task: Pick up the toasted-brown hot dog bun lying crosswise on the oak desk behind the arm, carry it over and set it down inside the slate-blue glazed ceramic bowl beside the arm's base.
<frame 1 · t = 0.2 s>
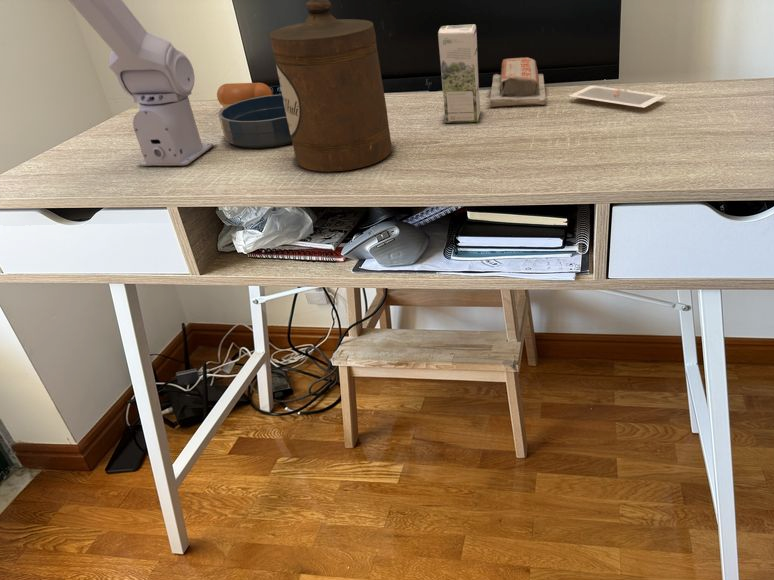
syrup box: (463, 119, 117), on the table
bowl: (273, 134, 116), on the table
bun: (247, 108, 131), on the table
touchpad: (616, 103, 119), on the table
packaged product: (518, 94, 127), on the table
wooden container: (344, 156, 105), on the table
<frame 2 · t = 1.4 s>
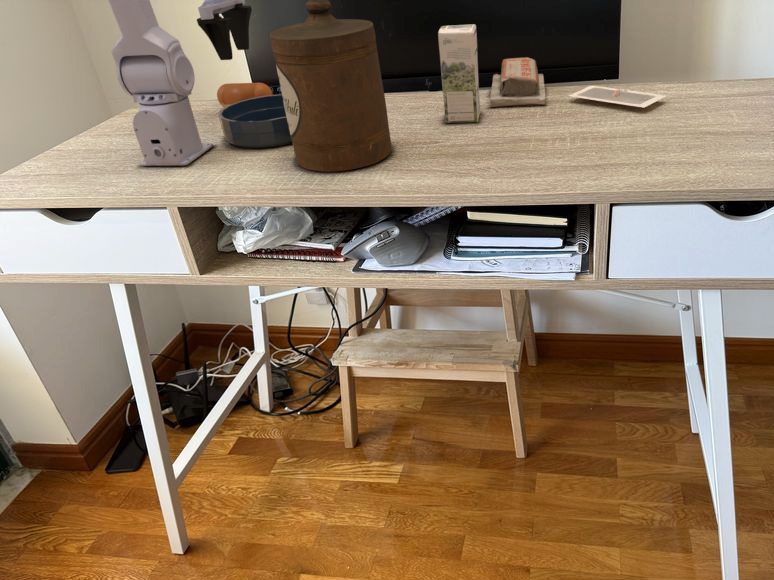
hand: (235, 54, 125), 10 cm above the table, tool pointing down, fingers open, 7 cm apart
nothing on the table moved.
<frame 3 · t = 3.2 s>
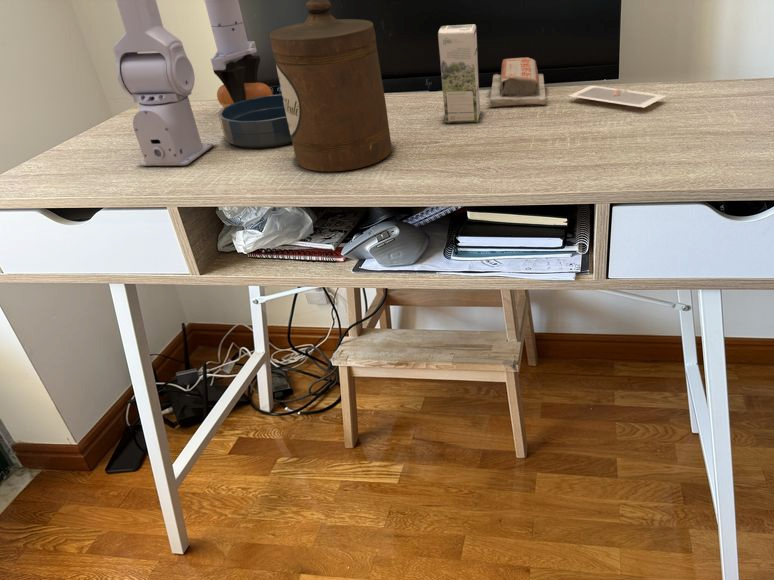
hand: (246, 100, 130), 1 cm above the table, tool pointing down, fingers closed on bun, 4 cm apart
bun: (248, 108, 131), on the table, touching gripper
everything else where it was.
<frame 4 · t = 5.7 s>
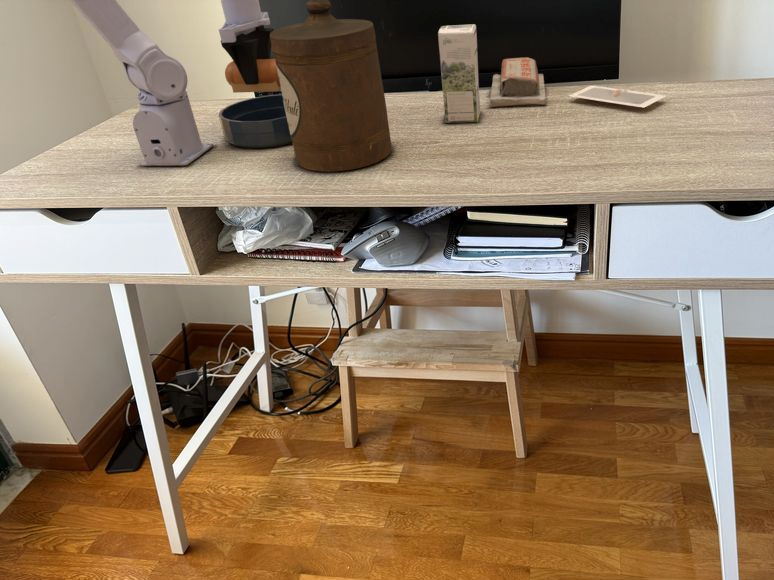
hand: (258, 80, 113), 8 cm above the table, tool pointing down, fingers closed on bun, 4 cm apart
bun: (260, 88, 114), point 7 cm above the table, touching gripper
everything else where it was.
when the fingers open (2 cm above the table, at t = 8.1 s): bun stays where it is, resting on bowl.
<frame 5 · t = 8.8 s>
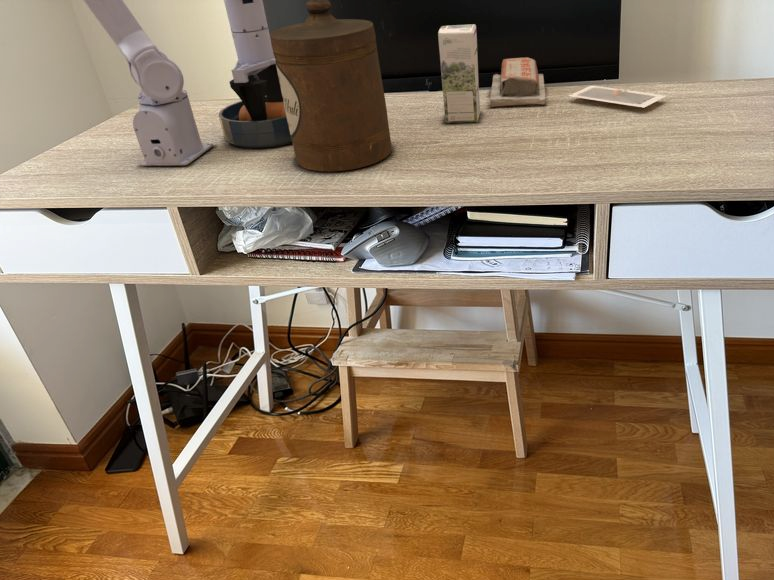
hand: (269, 116, 114), 3 cm above the table, tool pointing down, fingers open, 7 cm apart
bun: (273, 130, 116), point 1 cm above the table, touching bowl
everything else where it was.
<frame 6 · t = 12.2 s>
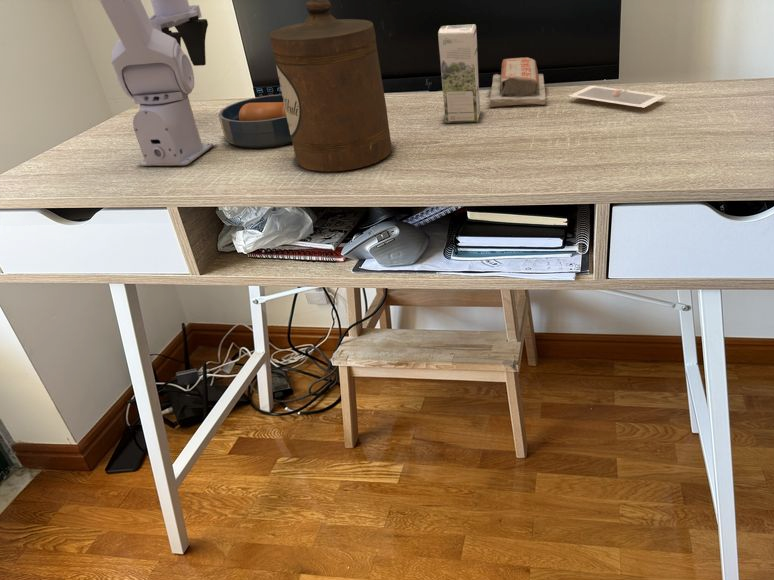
hand: (189, 70, 118), 9 cm above the table, tool pointing down, fingers open, 7 cm apart
nothing on the table moved.
at the end: bun inside the target area in the bowl (0.1 cm from its centre), point 0.6 cm above the bowl's base; the gripper is holding nothing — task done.
